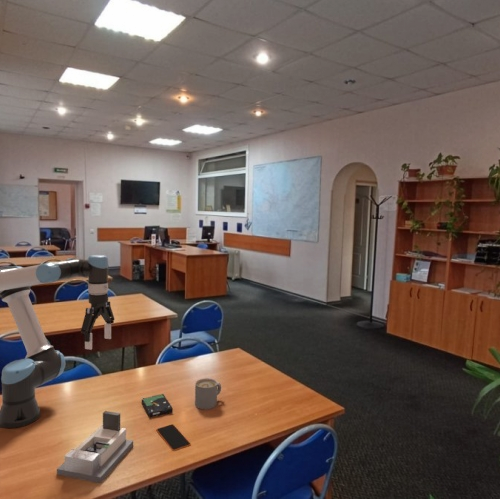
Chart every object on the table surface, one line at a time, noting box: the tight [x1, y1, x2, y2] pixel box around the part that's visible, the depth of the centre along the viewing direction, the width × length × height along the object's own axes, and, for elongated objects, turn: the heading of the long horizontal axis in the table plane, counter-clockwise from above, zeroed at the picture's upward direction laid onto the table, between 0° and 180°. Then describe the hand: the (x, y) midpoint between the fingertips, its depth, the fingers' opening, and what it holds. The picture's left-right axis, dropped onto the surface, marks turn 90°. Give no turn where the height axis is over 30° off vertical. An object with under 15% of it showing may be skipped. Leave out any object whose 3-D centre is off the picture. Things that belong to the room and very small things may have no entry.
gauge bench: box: [56, 424, 134, 484], centre depth 138 cm, size 16×21×6 cm
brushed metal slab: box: [64, 448, 99, 476], centre depth 129 cm, size 10×4×5 cm, turn 78°
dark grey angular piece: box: [86, 441, 109, 453], centre depth 136 cm, size 8×2×5 cm, turn 78°
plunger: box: [94, 410, 121, 448], centre depth 143 cm, size 6×7×10 cm
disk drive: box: [141, 393, 174, 419], centre depth 175 cm, size 10×3×15 cm
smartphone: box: [155, 423, 192, 452], centre depth 153 cm, size 8×17×1 cm, turn 35°
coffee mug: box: [194, 377, 222, 410], centre depth 181 cm, size 13×10×10 cm
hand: (98, 343), depth 163 cm, fingers open, 13 cm apart
